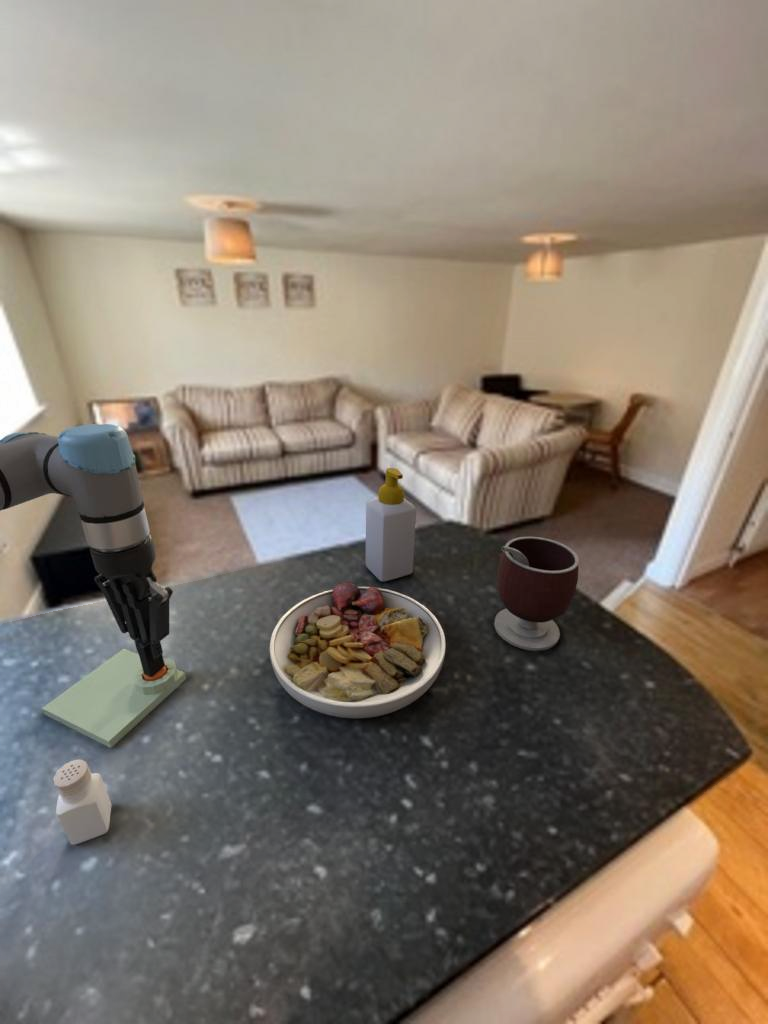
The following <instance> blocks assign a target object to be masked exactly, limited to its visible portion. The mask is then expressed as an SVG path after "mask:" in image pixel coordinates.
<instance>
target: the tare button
mask: <svg viewBox="0 0 768 1024" xmlns="http://www.w3.org/2000/svg"><path fill="white" fill-rule="evenodd" d="M166 673H167V671H166V667H165V666H164V667H163V668H162V669H160V670H159V671H158V672H157V673H156V674H154V675H153V676H152V677H150V676H147V675H145V674H143V675H144V679H145V681H155V680H158V679H160V678H162V677H163V676H164V675H165V674H166Z"/></svg>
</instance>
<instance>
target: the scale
mask: <svg viewBox="0 0 768 1024" xmlns="http://www.w3.org/2000/svg"><path fill="white" fill-rule="evenodd" d="M163 659H164V663H165V667H166V671H167V673H166V674H165V675H164V676H163V677H162V678H160V679H158V680H155V681H145V679H144V675H143V674H144V672H143V668H142V664H141V661H140V657H139V653H138V652H134V651H131V650H129V649H127V648H122V649H121V650H120V651H118V652H116V653H115V654H114V655H113V656H111V657H109V659H107V660H106V661H105V662H103V663H102V664H100V665H98V667H96V668H95V669H94V670H91V672H90V673H88V674H87V675H85V676H84V677H82V678H81V679H80V680H78V681H77V682H76V683H74V684H73V685H71V686H70V687H68V689H66V690H65V691H64V692H62V693H61V694H59V695H58V696H57V697H55V698H54V699H53V700H51V701H50V702H48V703H47V704H46V705H44V706H43V707H42V708H41V709H42V711H43V714H44V716H46V717H49V718H50V719H52V720H54V721H56V722H58V723H60V724H62V725H64V726H66V727H68V728H70V729H72V730H73V731H76V732H78V733H79V734H82V735H83V736H86V737H88V738H90V739H92V740H94V741H96V742H98V743H100V744H102V745H104V746H106V747H108V748H110V749H112V748H113V747H114V746H115V745H116V744H117V743H118V742H120V741H121V740H122V739H123V738H124V737H125V736H126V735H127V734H128V733H129V732H130V731H131V730H132V729H133V728H135V727H136V726H137V725H138V724H139V723H140V722H141V721H142V720H143V719H145V718H146V717H147V716H148V715H149V714H150V713H151V712H152V711H153V710H154V709H156V707H158V706H159V705H160V704H161V703H162V702H163V701H164V700H165V699H166V698H167V697H168V696H170V695H171V694H172V693H173V692H174V691H175V690H176V689H177V688H178V687H180V686H181V684H183V683H184V682H185V681H186V680H187V675H186V672H184V671H183V670H179V669H178V668H177V666H176V662H175V661H174V660H173V659H169V658H167V657H163Z"/></svg>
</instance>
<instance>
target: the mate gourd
mask: <svg viewBox="0 0 768 1024" xmlns="http://www.w3.org/2000/svg"><path fill="white" fill-rule="evenodd" d="M501 551H502V553H501V556H500V560H499V562H498V567H497V568H498V569H497V575H496V586H497V593H498V597H499V599H500V601H501V602H502V604H503V605H504V607H505V608H503V609H502V610H500V611H499V612H498V613H497V614H496V616H495V617H494V623H493V624H494V629H495V632H496V633H497V635H498V636H499V637H500V638H501V639H502V640H503V641H505V642H506V643H508V644H510V645H512V646H514V647H517V648H519V649H522V650H526V651H534V652H536V651H537V652H540V651H547V650H549V649H551V648H553V647H554V646H556V645H557V643H558V642H559V640H560V636H561V634H560V633H561V632H560V629H559V626H558V624H557V623H556V622H555V621H554V620H555V619H556V618H558V617H560V616H562V615H563V614H565V612H566V611H567V610H568V608H569V606H570V605H571V603H572V601H573V598H574V597H575V593H576V589H577V585H578V581H579V570H580V569H579V563H580V559H579V556H578V554H577V553H576V552H575V551H574V550H573V549H571V548H570V546H568V545H566V544H563V543H562V542H560V541H557V540H553V539H550V538H545V537H540V536H519V537H514V538H512V539H510V540H509V541H507V542H506V543H505V544H504V545H503V546H502V547H501Z"/></svg>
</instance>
